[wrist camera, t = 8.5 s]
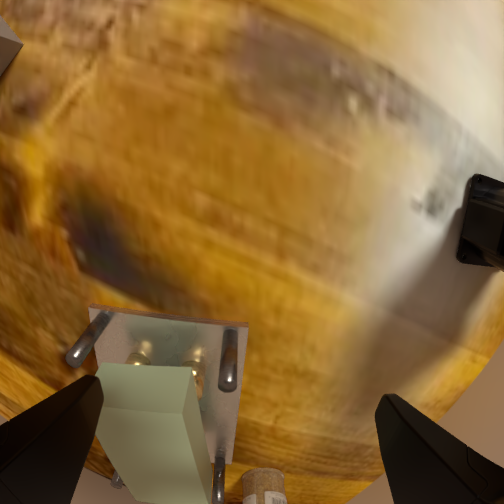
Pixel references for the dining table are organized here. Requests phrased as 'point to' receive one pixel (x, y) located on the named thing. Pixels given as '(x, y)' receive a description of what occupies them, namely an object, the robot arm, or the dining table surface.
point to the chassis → (177, 365)
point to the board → (155, 433)
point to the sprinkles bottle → (263, 486)
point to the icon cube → (7, 45)
